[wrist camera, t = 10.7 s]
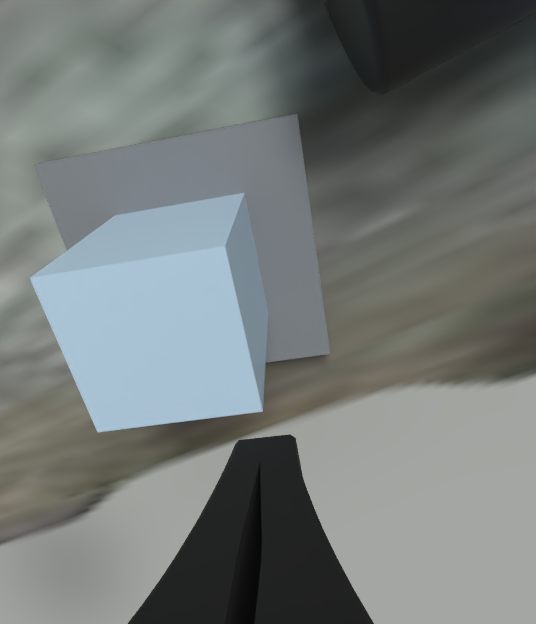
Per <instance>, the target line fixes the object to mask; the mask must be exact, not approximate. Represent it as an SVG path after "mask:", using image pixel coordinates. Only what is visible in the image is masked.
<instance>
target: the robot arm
mask: <svg viewBox="0 0 536 624" xmlns="http://www.w3.org/2000/svg"><path fill="white" fill-rule="evenodd" d="M128 624H374V623H373V621H372V620H371V618H370V616H369V615H368V613H367V611H366V610H365V608H364V606H363V604H362V603H361V601H360V599H359V597H358V596H357V594H356V592H355V591H354V589H353V587H352V585H351V584H350V582H349V580H348V578H347V576H346V574H345V572H344V571H343V569H342V567H341V565H340V563H339V561H338V559H337V557H336V555H335V553H334V551H333V549H332V547H331V545H330V543H329V541H328V539H327V536H326V534H325V532H324V530H323V528H322V526H321V523H320V521H319V519H318V516H317V514H316V512H315V509H314V507H313V504H312V501H311V499H310V496H309V494H308V491H307V488H306V486H305V483H304V480H303V477H302V471H301V465H300V460H299V455H298V449H297V444H296V438H294V437H293V436H291V435H282V436H273V437H264V438H254V439H245V440H239V441H238V442H237V443H236V444H235V446H234V449H233V451H232V454H231V456H230V458H229V460H228V463H227V465H226V467H225V469H224V471H223V473H222V475H221V477H220V479H219V481H218V483H217V485H216V487H215V489H214V491H213V493H212V495H211V497H210V499H209V500H208V502H207V504H206V506H205V508H204V510H203V511H202V513H201V515H200V517H199V519H198V520H197V522H196V524H195V526H194V527H193V529H192V531H191V533H190V534H189V535H188V537H187V539H186V540H185V542H184V544H183V545H182V547H181V549H180V550H179V552H178V553H177V555H176V557H175V558H174V560H173V561H172V563H171V564H170V566H169V567H168V569H167V570H166V572H165V573H164V575H163V576H162V578H161V579H160V581H159V582H158V584H157V585H156V586H155V588H154V589H153V590H152V592H151V593H150V595H149V596H148V598H147V599H146V600H145V602H144V603H143V604H142V606H141V607H140V608H139V610H138V611H137V612H136V614H135V615H134V616H133V617H132V619H131V620H130V621H129V623H128Z"/></svg>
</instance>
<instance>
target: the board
mask: <svg viewBox="0 0 536 624" xmlns="http://www.w3.org/2000/svg"><path fill="white" fill-rule="evenodd" d="M34 167H35V170H36V172H37V175H38V177H39V180H40V183H41V185H42V188H43V190H44V193H45V195H46V198H47V200H48V203H49V206H50V208H51V211H52V213H53V216H54V218H55V221H56V223H57V226H58V228H59V231H60V234H61V236H62V239H63V241H64V244H65V246H66V249H67V250H69V249H70V248H71V247H73V246H74V245H75V244H77V243H78V242H80V241H81V240H82V239H84V238H85V237H86V236H88V235H89V234H90V233H92V232H93V231H94V230H96V229H97V228H99V227H100V226H101V225H103V224H104V223H105V222H107V221H108V220H109V219H111V218H112V217H114V216H115V215H121V214H126V213H132V212H138V211H143V210H149V209H155V208H160V207H166V206H172V205H177V204H183V203H189V202H194V201H200V200H206V199H212V198H217V197H223V196H229V195H234V194H240V193H245V198H246V203H247V208H248V213H249V218H250V223H251V228H252V233H253V238H254V243H255V248H256V253H257V258H258V264H259V269H260V274H261V279H262V284H263V289H264V294H265V299H266V304H267V309H268V328H267V345H266V363H267V362H274V361H282V360H289V359H296V358H303V357H311V356H318V355H325V354H330V348H329V341H328V333H327V326H326V319H325V312H324V304H323V297H322V290H321V282H320V275H319V268H318V260H317V253H316V246H315V238H314V231H313V224H312V217H311V209H310V202H309V195H308V187H307V180H306V173H305V165H304V158H303V151H302V143H301V136H300V129H299V121H298V114H297V113H295V114H290V115H285V116H280V117H275V118H270V119H264V120H259V121H254V122H249V123H244V124H239V125H233V126H228V127H223V128H218V129H213V130H208V131H202V132H197V133H192V134H187V135H182V136H177V137H171V138H166V139H161V140H156V141H151V142H146V143H140V144H135V145H130V146H125V147H120V148H115V149H109V150H104V151H99V152H94V153H89V154H83V155H78V156H73V157H68V158H63V159H58V160H52V161H47V162H44V163H40V164H37V165H34Z"/></svg>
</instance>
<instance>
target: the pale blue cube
mask: <svg viewBox="0 0 536 624" xmlns="http://www.w3.org/2000/svg"><path fill="white" fill-rule="evenodd" d="M30 280H31V282H32V284H33V287H34V289H35V291H36V293H37V296H38V298H39V300H40V302H41V305H42V307H43V309H44V312H45V314H46V316H47V318H48V321H49V323H50V325H51V327H52V330H53V332H54V334H55V336H56V339H57V341H58V343H59V346H60V348H61V350H62V352H63V355H64V357H65V359H66V361H67V364H68V366H69V368H70V370H71V373H72V375H73V377H74V380H75V382H76V384H77V386H78V389H79V391H80V393H81V395H82V398H83V400H84V402H85V404H86V407H87V409H88V411H89V414H90V416H91V418H92V420H93V423H94V425H95V427H96V429H97V432H103V431H111V430H119V429H127V428H135V427H143V426H151V425H159V424H167V423H175V422H183V421H191V420H199V419H207V418H215V417H223V416H231V415H239V414H247V413H255V412H263V398H264V380H265V363H266V345H267V328H268V309H267V304H266V299H265V294H264V289H263V284H262V279H261V274H260V269H259V264H258V258H257V253H256V248H255V243H254V238H253V233H252V228H251V223H250V218H249V213H248V208H247V203H246V198H245V193H240V194H234V195H229V196H223V197H217V198H212V199H206V200H200V201H194V202H189V203H183V204H177V205H172V206H166V207H160V208H155V209H149V210H143V211H138V212H132V213H126V214H121V215H115V216H114V217H112V218H111V219H109V220H108V221H107V222H105V223H104V224H103V225H101V226H100V227H99V228H97V229H96V230H94V231H93V232H92V233H90V234H89V235H88V236H86V237H85V238H84V239H82V240H81V241H80V242H78V243H77V244H75V245H74V246H73V247H71V248H70V249H69V250H67V251H66V252H65V253H63V254H62V255H60V256H59V257H58V258H56V259H55V260H54V261H52V262H51V263H50V264H48V265H47V266H45V267H44V268H43V269H41V270H40V271H39V272H37V273H36V274H35V275H33V276H32V277H30Z"/></svg>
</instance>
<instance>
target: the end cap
mask: <svg viewBox="0 0 536 624" xmlns="http://www.w3.org/2000/svg"><path fill="white" fill-rule="evenodd" d="M325 5H326V8H327V10H328V13H329V15H330V18H331V20H332V23H333V25H334V27H335V30H336V32H337V34H338V37H339V39H340V41H341V43H342V45H343V47H344V50H345V52H346V54H347V56H348V58H349V60H350V61H351V63H352V65H353V67H354V69H355V70H356V72H357V74H358V75H359V77H360V78H361V80H362V81H363V83H364V84H365V85H366V86H367V87H368V88H369V89H370V90H371V91H373V92H376V93H378V94H384V93H386V92H388V91H390V90H392V89H394V88H396V87H397V86H399V85H401V84H403V83H405V82H407V81H409V80H410V79H412V78H414V77H416V76H418V75H420V74H422V73H423V72H425V71H427V70H429V69H431V68H433V67H435V66H437V65H438V64H440V63H442V62H444V61H446V60H448V59H450V58H451V57H453V56H455V55H457V54H459V53H461V52H463V51H464V50H466V49H468V48H470V47H472V46H474V45H476V44H478V43H479V42H481V41H483V40H485V39H487V38H489V37H491V36H492V35H494V34H496V33H498V32H500V31H502V30H504V29H505V28H507V27H509V26H511V25H513V24H515V23H517V22H519V21H520V20H522V19H524V18H526V17H528V16H530V15H532V14H533V13H535V12H536V0H327V1H326V3H325Z"/></svg>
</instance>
